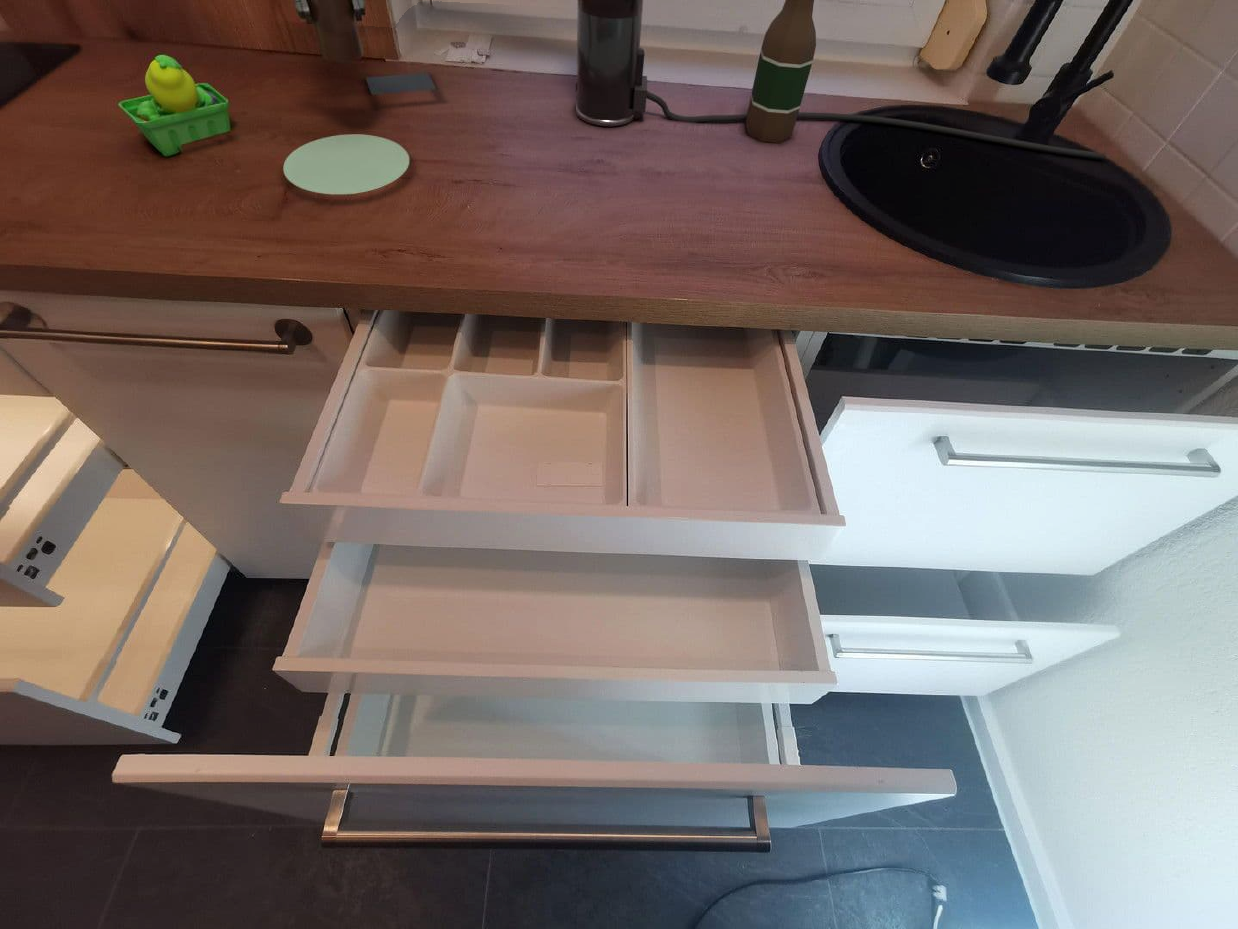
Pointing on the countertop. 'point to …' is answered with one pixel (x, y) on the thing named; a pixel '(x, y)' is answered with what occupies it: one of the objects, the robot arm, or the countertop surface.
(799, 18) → the beer bottle
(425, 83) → the mat
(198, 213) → the countertop surface
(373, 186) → the plate
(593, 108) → the robot arm
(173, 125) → the fruit basket
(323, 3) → the pepper mill
